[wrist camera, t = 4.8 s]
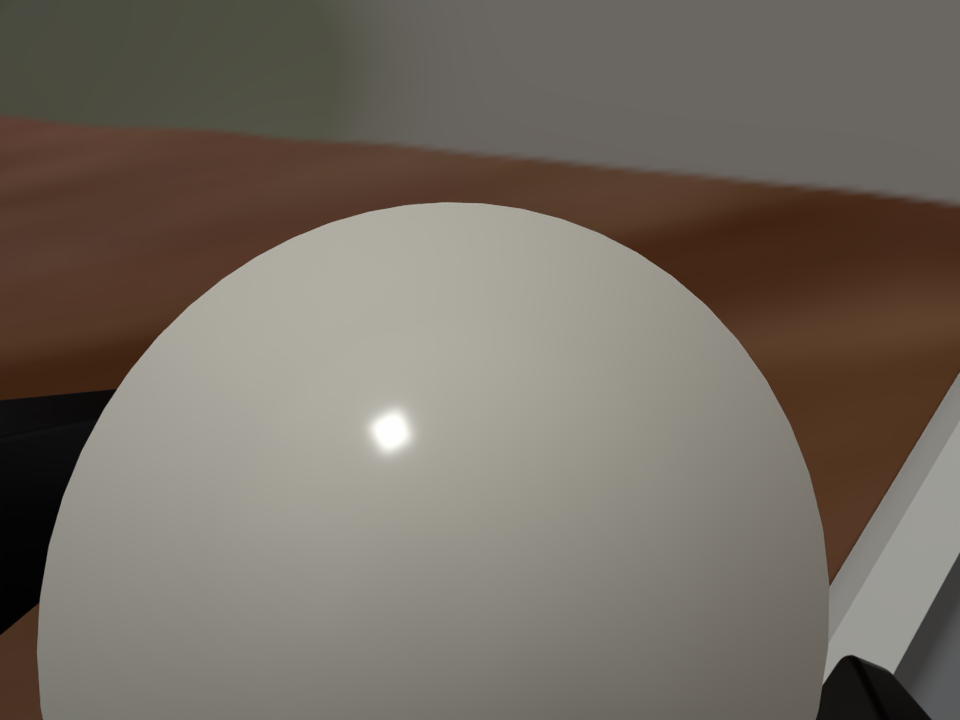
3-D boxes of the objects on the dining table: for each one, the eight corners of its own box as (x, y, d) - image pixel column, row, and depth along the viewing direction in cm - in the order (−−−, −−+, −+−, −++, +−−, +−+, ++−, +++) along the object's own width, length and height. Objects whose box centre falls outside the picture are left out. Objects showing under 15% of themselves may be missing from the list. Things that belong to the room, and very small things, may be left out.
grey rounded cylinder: (520, 788, 13) (437, 1428, 3) (338, 598, 15) (-96, 558, 5) (672, 569, 14) (982, 456, 4) (489, 424, 16) (402, 114, 6)
